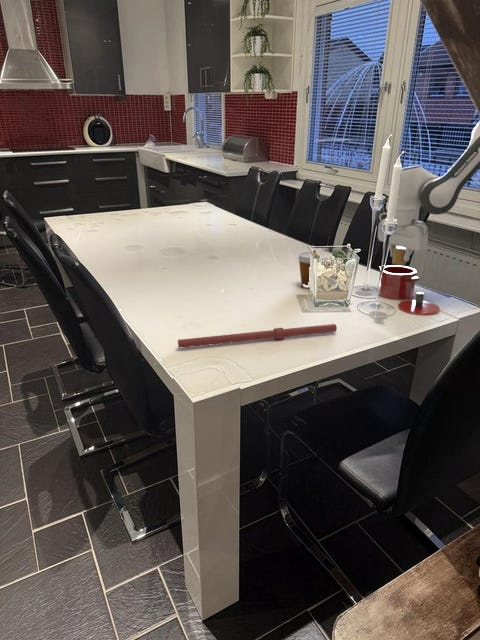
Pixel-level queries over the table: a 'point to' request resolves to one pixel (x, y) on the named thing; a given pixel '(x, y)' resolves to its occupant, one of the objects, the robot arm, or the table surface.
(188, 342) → the dark red rod
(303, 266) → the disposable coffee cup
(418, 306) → the lid
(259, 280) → the table surface
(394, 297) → the red cooking pot
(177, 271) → the table surface
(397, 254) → the brass tin
